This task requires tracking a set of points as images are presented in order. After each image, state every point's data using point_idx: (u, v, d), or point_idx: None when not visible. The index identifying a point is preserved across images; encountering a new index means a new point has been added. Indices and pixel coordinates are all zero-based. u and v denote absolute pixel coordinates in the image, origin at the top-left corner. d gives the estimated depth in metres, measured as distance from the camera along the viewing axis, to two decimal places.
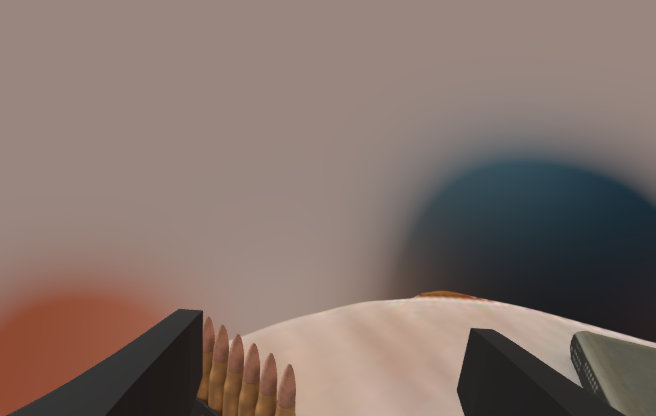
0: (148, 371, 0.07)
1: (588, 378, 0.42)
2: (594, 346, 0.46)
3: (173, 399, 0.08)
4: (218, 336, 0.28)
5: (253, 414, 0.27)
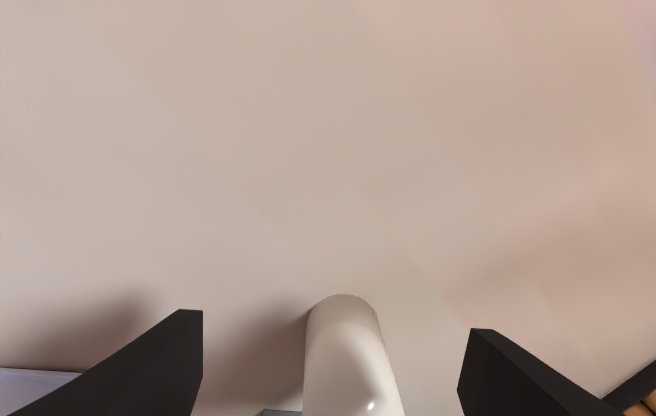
0: (148, 371, 0.07)
1: None
2: None
3: (173, 399, 0.08)
4: None
5: None
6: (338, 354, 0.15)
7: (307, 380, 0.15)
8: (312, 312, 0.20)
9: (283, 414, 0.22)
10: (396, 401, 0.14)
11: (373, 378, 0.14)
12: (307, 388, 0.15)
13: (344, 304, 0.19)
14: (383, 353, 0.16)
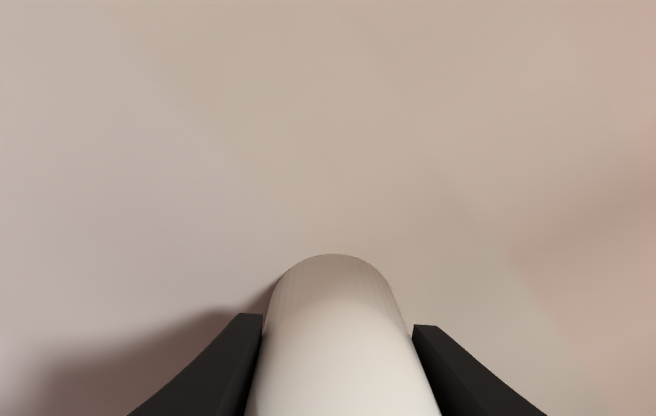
0: (233, 376, 0.07)
1: None
2: None
3: (245, 403, 0.08)
4: None
5: None
6: (314, 365, 0.07)
7: None
8: (277, 286, 0.11)
9: None
10: None
11: None
12: None
13: (333, 268, 0.10)
14: (414, 360, 0.08)
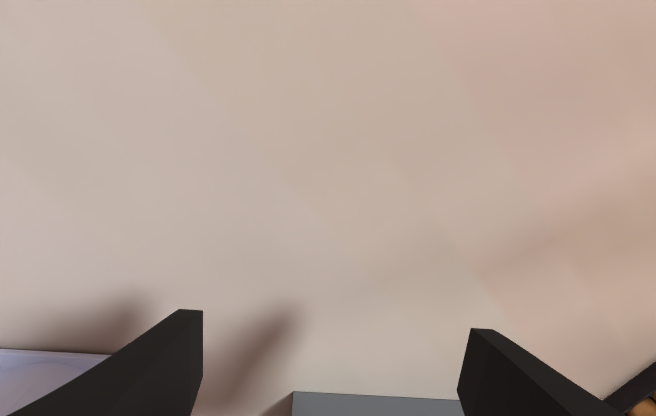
0: (148, 371, 0.07)
1: None
2: None
3: (173, 399, 0.08)
4: None
5: None
6: None
7: None
8: None
9: (313, 395, 0.21)
10: None
11: None
12: None
13: None
14: None
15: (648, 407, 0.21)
